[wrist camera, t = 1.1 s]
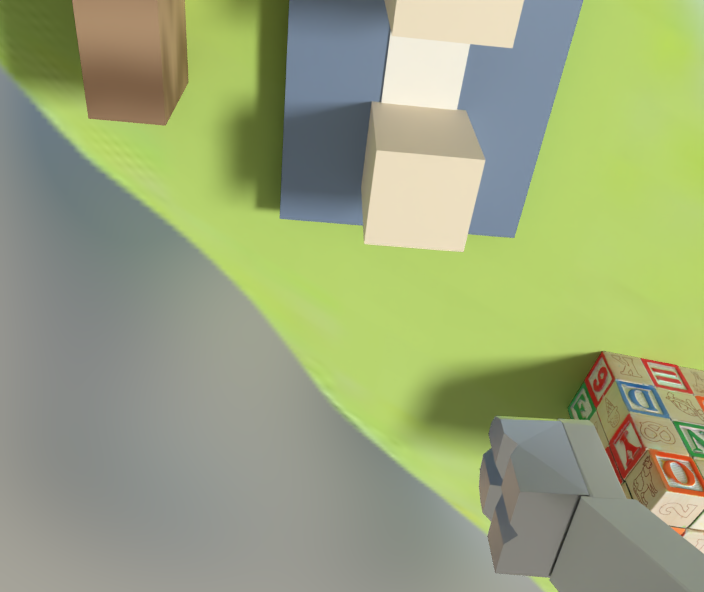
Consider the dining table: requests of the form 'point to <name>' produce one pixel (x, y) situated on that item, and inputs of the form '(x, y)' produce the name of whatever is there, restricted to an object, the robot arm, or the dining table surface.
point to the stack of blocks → (651, 434)
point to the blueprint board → (355, 78)
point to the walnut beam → (132, 58)
